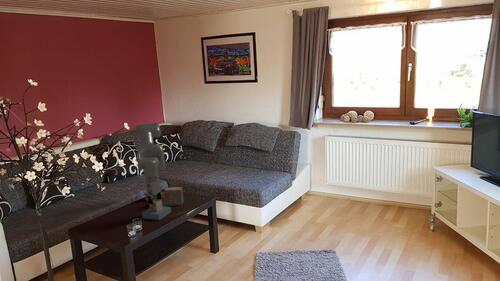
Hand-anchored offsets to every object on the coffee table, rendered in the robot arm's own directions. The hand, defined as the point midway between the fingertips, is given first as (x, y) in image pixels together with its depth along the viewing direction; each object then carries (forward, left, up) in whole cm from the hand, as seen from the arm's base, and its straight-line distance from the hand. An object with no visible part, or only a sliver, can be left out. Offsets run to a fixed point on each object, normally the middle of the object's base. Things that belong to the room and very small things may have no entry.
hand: (155, 201), depth 262 cm
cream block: (0, 0, -6) cm, 6 cm away
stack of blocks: (-4, +20, -10) cm, 23 cm away
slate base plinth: (0, 0, -10) cm, 10 cm away
